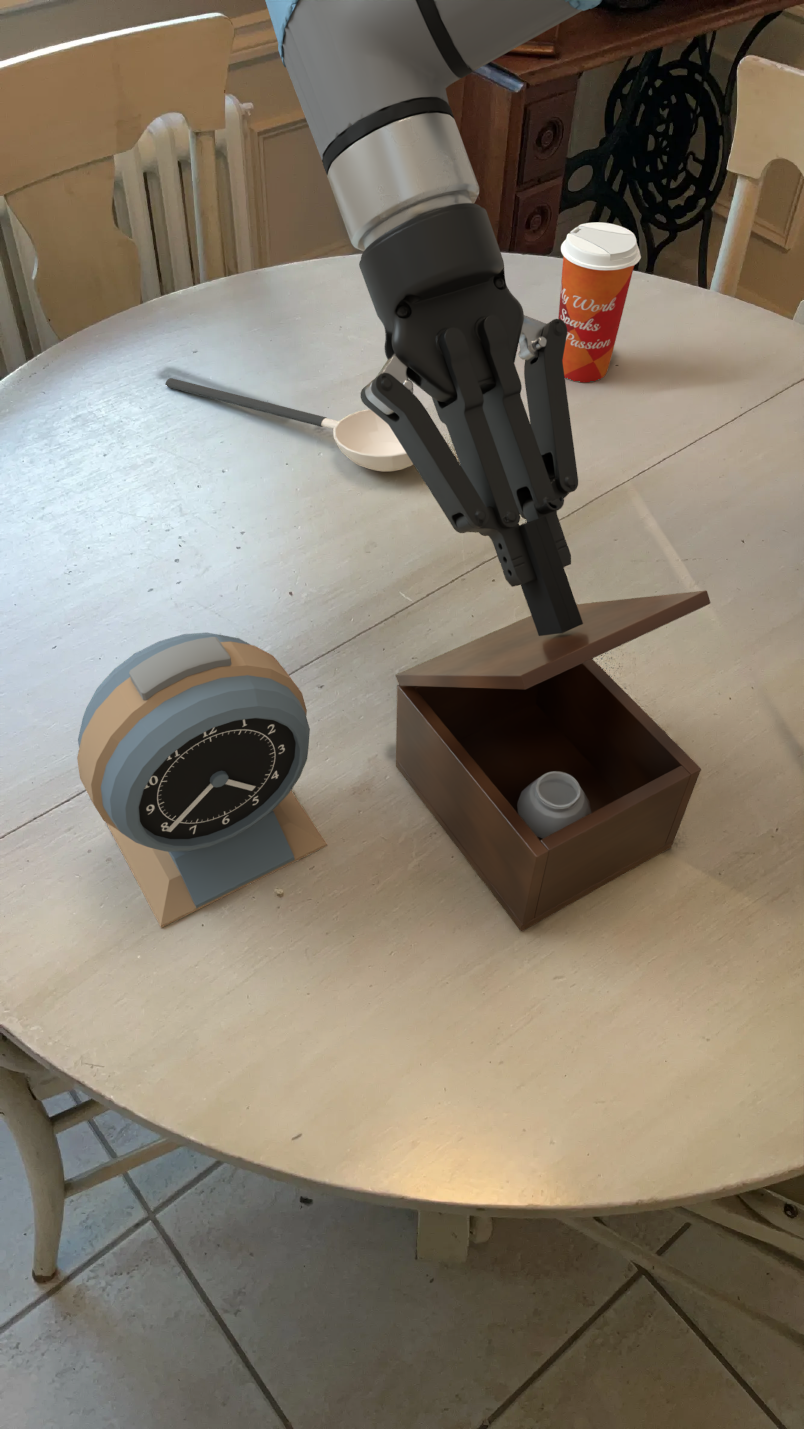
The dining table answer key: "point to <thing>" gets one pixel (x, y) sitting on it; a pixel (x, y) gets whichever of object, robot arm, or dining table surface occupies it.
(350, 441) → the ladle
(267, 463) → the dining table surface
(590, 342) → the paper cup
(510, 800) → the keepsake box
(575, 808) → the lidless jar
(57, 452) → the dining table surface
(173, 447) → the dining table surface
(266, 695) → the alarm clock
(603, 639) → the box lid
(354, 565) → the dining table surface
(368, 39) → the robot arm
